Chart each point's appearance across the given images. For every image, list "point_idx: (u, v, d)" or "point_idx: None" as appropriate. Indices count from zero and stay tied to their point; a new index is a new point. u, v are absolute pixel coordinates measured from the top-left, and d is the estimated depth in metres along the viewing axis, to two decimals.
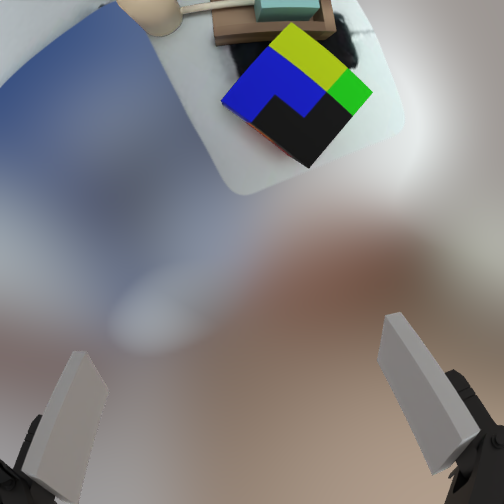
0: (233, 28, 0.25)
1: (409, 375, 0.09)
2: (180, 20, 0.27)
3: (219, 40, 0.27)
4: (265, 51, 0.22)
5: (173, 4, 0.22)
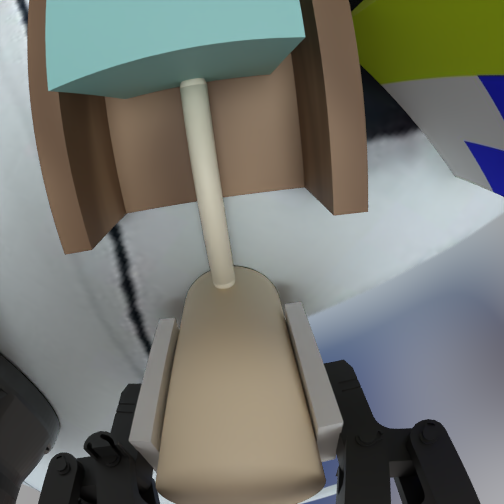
0: (346, 149, 0.08)
1: (296, 360, 0.11)
2: (248, 276, 0.14)
3: None
4: None
5: (252, 355, 0.09)
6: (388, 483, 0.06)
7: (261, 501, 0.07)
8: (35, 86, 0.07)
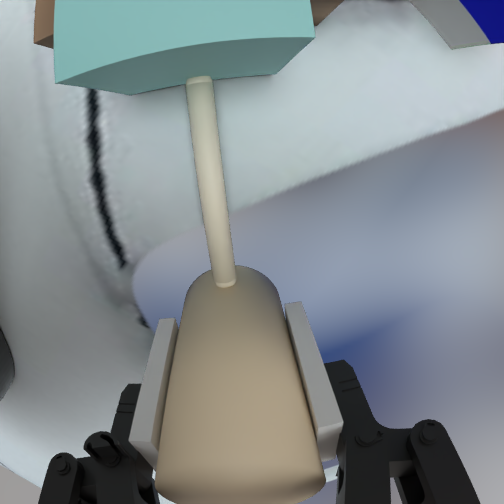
0: None
1: (296, 360, 0.11)
2: (249, 275, 0.14)
3: None
4: None
5: (253, 354, 0.09)
6: (388, 483, 0.06)
7: (260, 501, 0.07)
8: None
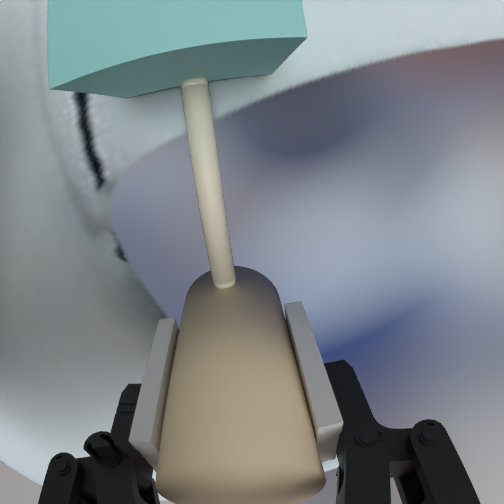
0: None
1: (296, 360, 0.11)
2: (248, 275, 0.14)
3: None
4: None
5: (252, 355, 0.09)
6: (388, 483, 0.06)
7: (261, 501, 0.07)
8: None
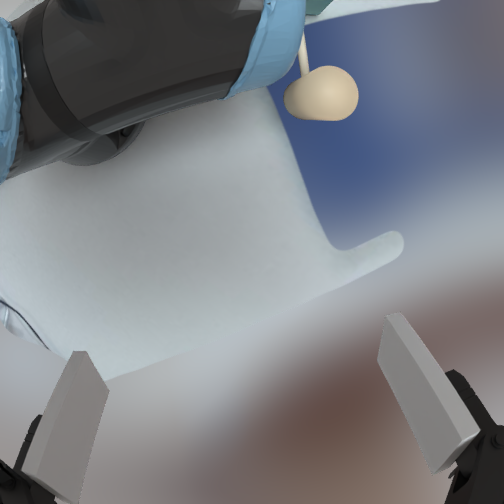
0: None
1: (409, 375, 0.09)
2: None
3: None
4: None
5: None
6: None
7: (338, 103, 0.23)
8: None
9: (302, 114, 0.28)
